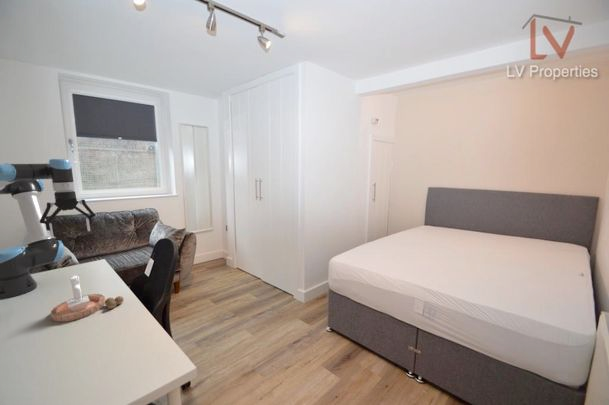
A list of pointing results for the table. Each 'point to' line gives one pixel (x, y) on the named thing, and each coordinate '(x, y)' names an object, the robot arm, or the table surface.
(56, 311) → the dish
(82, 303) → the figurine
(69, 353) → the table surface
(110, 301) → the wooden beads
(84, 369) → the table surface
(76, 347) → the table surface
